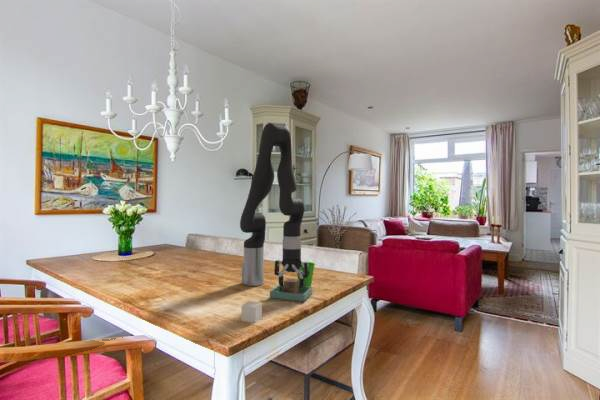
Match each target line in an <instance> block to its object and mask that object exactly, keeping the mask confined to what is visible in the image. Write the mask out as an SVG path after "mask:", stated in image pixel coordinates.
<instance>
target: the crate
mask: <svg viewBox="0 0 600 400" xmlns="http://www.w3.org/2000/svg"><path fill="white" fill-rule="evenodd" d="M312 295H313V287H312V286H311V287H307V286H303V287H302V288H300V286H299V294H297V293H287V292H284V283H283V286H280V284H279V283H278V285H277V286H275V287H273V289H271V290H269V299H270V300H276V301H278V300H279V301H287V302H297V303H305V302H307V300H309V298H310V297H311V296H312Z"/></svg>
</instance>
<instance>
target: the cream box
mask: <svg viewBox="0 0 600 400" xmlns="http://www.w3.org/2000/svg"><path fill="white" fill-rule="evenodd" d="M262 304H263V302H261V301H253V300H251V301H250V300H248V301H247V302H244V303H243V304H242V305H241V321H242V322H250V323H257V322H258V321H259V320H260V319H261V318H262V317H263V315H262V313H263V311H262V309H263V305H262Z"/></svg>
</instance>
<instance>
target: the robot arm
mask: <svg viewBox="0 0 600 400" xmlns="http://www.w3.org/2000/svg"><path fill="white" fill-rule="evenodd" d="M291 138H292V137H291V131H290V129H289V127H288V126H286V125H283V124H279V123H274V122H273V123H272V122H268V123H266V124H265V125H264V127H263V128H262V132H261V137H260V143H259V149H258V155H257V160H256V163H255V164H256V165H255V169H254V172H253V176H252V178H251V183H250V189H249V193H248V196H247V199H246V202H245V206H244V207H243V210H242V213H241V217H240V220H239V228H240V231H241V232H242V233H246V234H247V233H248V234H250V233H252V235H251V236H250V237H248V238H246V239H245V240H244V242H243V263H242V264H241V285H245V286H248V287H255V286H262V285H263V284H264V262H265V261H264V257H265V256H264V254H265V253H264V249H265V248H264V246H265V245H264V244H265V240H266V227H267V223H266V222H267V221H266V217H265V214H264V213H262V212H256V211H257V209H258V208H259V205H260V204H261V203H262V202H263V201H264V200H265V199H266V198H267V196H268V195H269V194H270V192H271V191H272V188H273V184H274V181H275V170H274V167H273V163H272V153H273V149H274V147H278V149H279V151H280V152H279V153H280V160H279V164H278V166H277V170H276V175H277V182H278V186H279V188H278V189H279V196H278V197H279V198H278V199H279V200H278V208H279V211H280V213H281V214H282V215H284V216H289V219H288V220H287V221H285V222H284V223H283V228H282V229H283V237H282V260H280V259H277V260H275V261H274V269H273V270H274V271H273V272H274V276H277V277H278V285H279V284H280V286H283V284H284V274H285V273H286V272H287V273H296V275H297V274H298V275H299V276H300V278H301V279H300V288H302V287H303V286H304V279H305V278H307V277H308V276H309V263H308V262H309V261H302V237H301V230H302V229H301V226H302V222H303V217H304V214H305V204H304V202H303V201H304V200H302V199H301V198H298V197H293V196H292V195H293V193H296V191H297V188H298V187H297V184H296V183H297V182H296V178H295V172H294V168H293V153H292V151H293V150H292V139H291ZM301 265H302V266H303V268H304V271H305V274H303V272H302V270H301V268H300V267H301ZM280 266H282V267H283V268H282V269H281V270H280Z"/></svg>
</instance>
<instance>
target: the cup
mask: <svg viewBox="0 0 600 400" xmlns="http://www.w3.org/2000/svg"><path fill="white" fill-rule="evenodd" d="M307 262H308V263H309V276H308V277H307V278H305V279H304V286H307V287H312V281H313V276H314V270H315V266H316V264H315V263H314V262H311V261H307ZM300 268H301V270H302V272H303V274H305V271H304V268H303V266H302V265H301V267H300ZM296 276H297V279H299V286H300V279H301V278H300V276H299V275H298V274H297V273H296Z"/></svg>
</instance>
